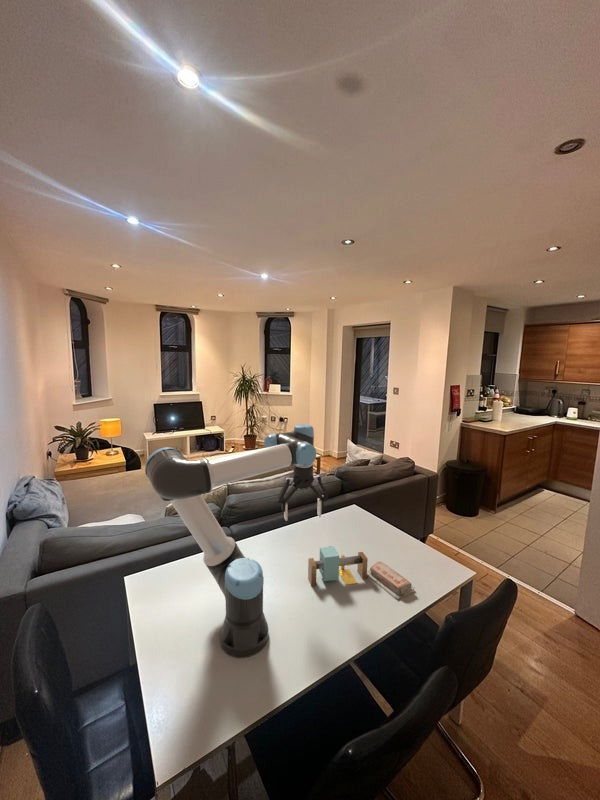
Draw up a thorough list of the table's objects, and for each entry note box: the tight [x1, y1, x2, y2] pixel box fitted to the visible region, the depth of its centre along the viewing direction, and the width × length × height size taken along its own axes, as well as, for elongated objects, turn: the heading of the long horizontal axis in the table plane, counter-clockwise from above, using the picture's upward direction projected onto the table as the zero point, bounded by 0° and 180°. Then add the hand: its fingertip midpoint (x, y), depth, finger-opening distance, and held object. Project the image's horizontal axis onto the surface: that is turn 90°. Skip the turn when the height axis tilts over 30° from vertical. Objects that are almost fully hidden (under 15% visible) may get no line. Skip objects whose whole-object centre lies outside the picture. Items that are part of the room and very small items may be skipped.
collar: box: [318, 546, 340, 582], centre depth 132 cm, size 6×7×10 cm
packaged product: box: [367, 561, 415, 601], centre depth 132 cm, size 18×5×10 cm
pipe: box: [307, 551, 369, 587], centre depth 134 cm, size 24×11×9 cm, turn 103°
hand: (302, 517), depth 129 cm, fingers open, 13 cm apart
